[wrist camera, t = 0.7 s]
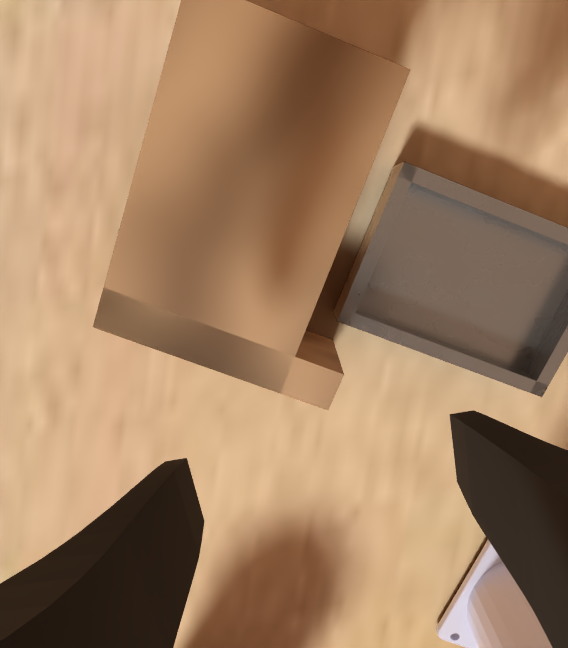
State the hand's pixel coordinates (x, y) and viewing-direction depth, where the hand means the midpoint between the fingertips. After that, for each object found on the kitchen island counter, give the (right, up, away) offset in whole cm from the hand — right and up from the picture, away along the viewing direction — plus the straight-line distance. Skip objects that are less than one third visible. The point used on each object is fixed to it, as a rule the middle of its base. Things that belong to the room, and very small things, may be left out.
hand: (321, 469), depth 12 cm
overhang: (-1, +9, +8) cm, 12 cm away
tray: (+7, +6, +9) cm, 13 cm away
